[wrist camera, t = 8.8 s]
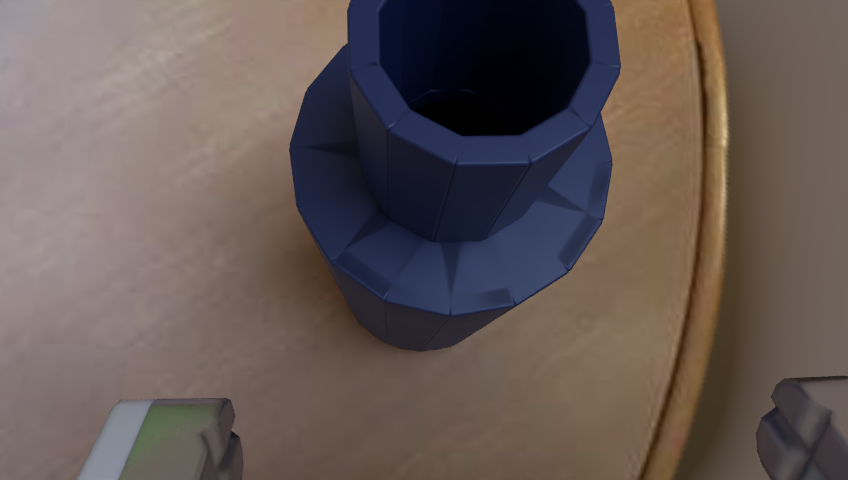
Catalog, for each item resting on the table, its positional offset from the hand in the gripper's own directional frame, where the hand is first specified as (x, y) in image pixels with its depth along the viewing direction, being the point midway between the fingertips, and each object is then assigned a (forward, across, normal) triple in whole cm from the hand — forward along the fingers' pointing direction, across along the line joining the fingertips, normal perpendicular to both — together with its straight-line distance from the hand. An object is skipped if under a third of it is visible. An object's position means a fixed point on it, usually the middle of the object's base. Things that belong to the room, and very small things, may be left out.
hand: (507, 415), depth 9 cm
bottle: (+13, +1, +6) cm, 14 cm away
